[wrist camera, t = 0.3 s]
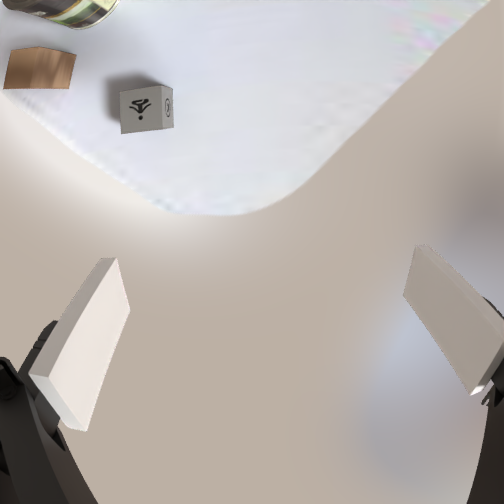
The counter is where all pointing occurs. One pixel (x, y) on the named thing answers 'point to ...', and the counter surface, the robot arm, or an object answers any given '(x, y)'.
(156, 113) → the dice cube
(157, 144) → the counter surface
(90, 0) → the coffee can
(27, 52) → the walnut block
